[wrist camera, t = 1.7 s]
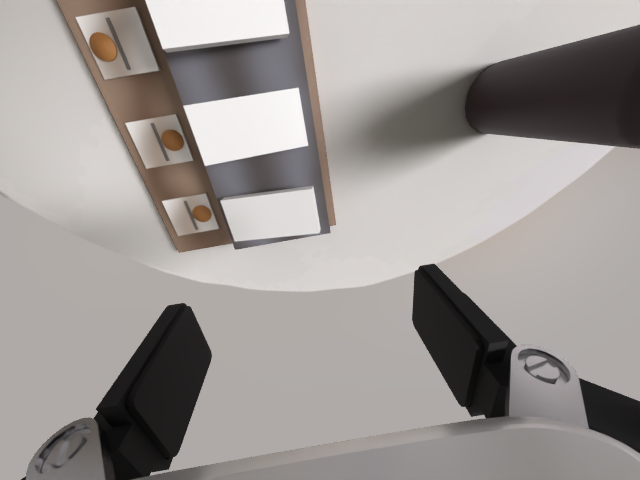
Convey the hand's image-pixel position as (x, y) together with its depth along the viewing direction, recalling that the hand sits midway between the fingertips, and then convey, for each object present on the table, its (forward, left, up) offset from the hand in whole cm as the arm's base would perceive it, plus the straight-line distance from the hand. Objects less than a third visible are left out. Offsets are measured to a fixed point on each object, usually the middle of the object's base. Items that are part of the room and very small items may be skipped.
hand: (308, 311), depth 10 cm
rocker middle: (+3, -7, -16) cm, 18 cm away
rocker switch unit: (+7, -7, -21) cm, 23 cm away
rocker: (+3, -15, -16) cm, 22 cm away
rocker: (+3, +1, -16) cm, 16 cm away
